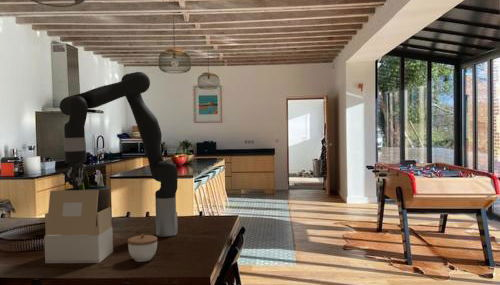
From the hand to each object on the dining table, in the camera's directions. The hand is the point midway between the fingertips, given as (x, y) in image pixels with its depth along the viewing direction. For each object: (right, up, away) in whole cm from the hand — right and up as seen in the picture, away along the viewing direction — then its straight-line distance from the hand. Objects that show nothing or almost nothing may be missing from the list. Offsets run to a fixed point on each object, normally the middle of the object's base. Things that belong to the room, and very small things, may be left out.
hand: (77, 195), depth 159 cm
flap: (0, -6, -4) cm, 7 cm away
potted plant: (-17, -23, +57) cm, 63 cm away
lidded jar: (+25, -24, -2) cm, 35 cm away
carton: (+1, -24, +2) cm, 24 cm away
